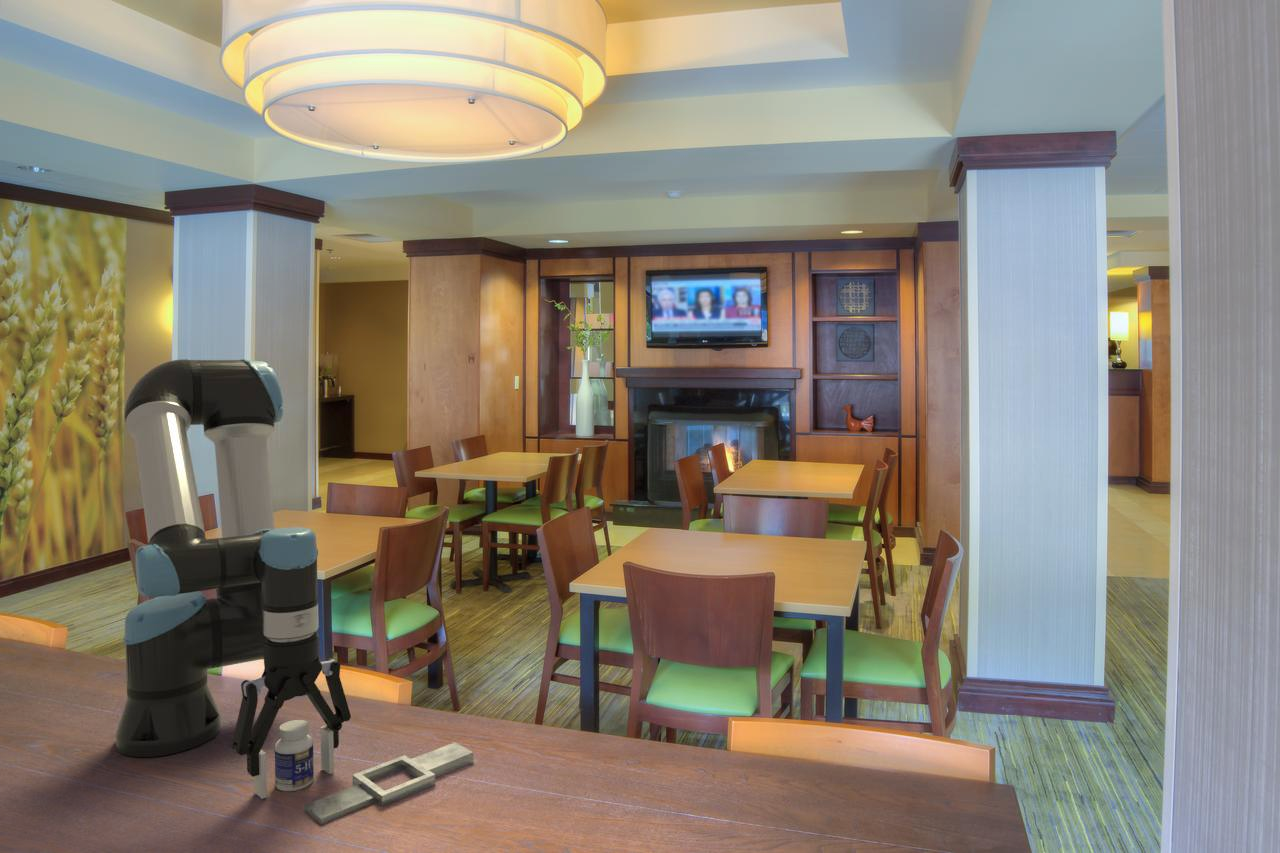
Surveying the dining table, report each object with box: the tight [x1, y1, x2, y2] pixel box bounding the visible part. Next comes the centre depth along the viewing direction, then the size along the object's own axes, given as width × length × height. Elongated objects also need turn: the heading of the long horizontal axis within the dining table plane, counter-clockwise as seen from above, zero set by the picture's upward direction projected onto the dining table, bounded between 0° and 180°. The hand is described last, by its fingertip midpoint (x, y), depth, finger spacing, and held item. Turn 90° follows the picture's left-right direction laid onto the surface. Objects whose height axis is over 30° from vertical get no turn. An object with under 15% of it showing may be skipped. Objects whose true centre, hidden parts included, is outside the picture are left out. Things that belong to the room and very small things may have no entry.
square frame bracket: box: [304, 741, 474, 825], centre depth 122 cm, size 25×9×2 cm, turn 136°
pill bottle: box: [274, 719, 315, 792], centre depth 122 cm, size 5×5×9 cm
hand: (295, 782), depth 122 cm, fingers open, 9 cm apart
